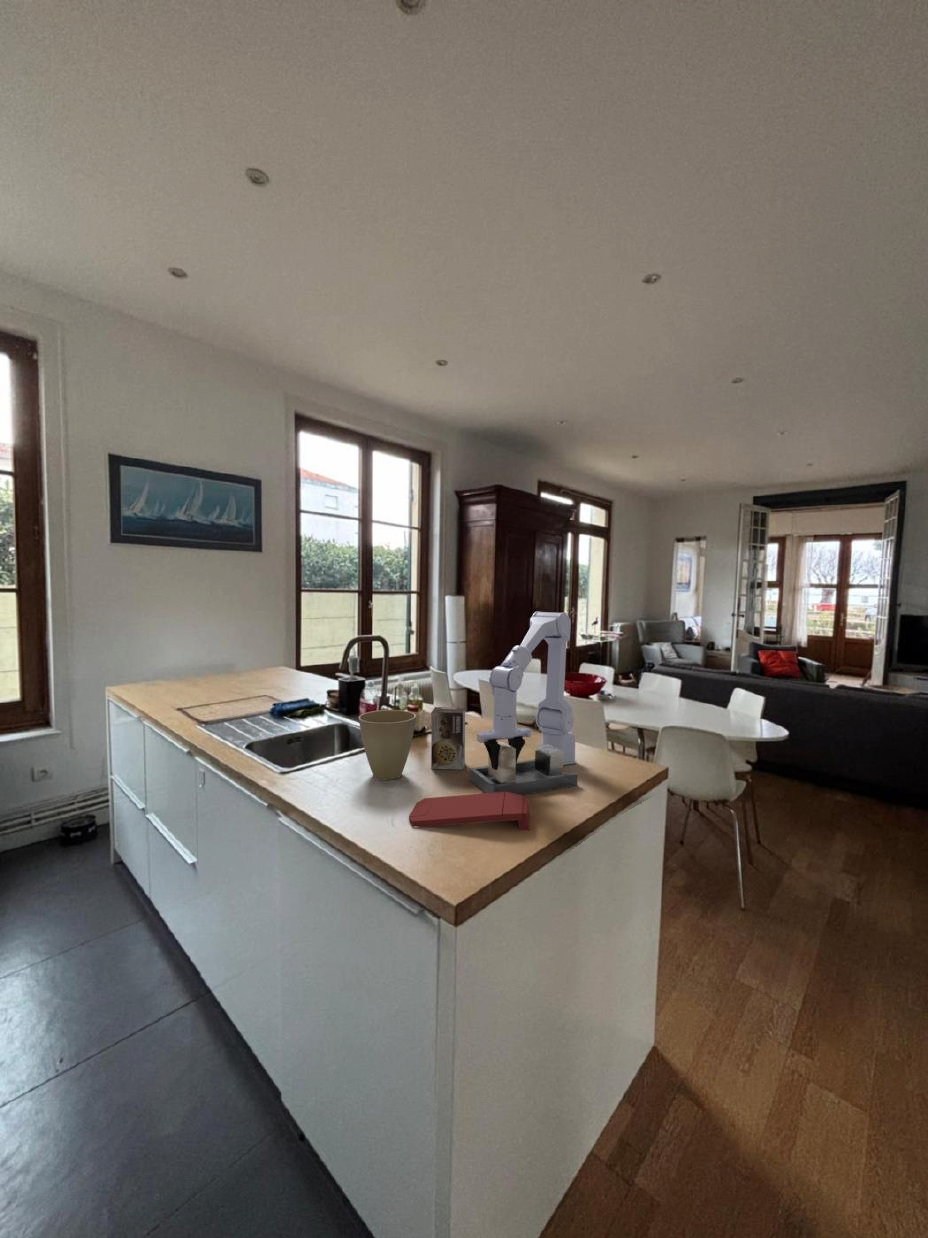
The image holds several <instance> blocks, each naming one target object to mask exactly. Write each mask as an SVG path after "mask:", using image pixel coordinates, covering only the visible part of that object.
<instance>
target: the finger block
mask: <svg viewBox="0 0 928 1238" xmlns="http://www.w3.org/2000/svg"><path fill="white" fill-rule="evenodd" d="M497 742H498V741H497ZM498 744H500V745H501V747H500V751H499V757H498V770H494V769H493V768H492V766H491V761H490V757H489V754H488V756H487V757H488V758H487V759H488V765H487V766H488V774H489V775H490V776H492V777H493V778H495V779H496V780H498V781H500V782H501V783H503V782H509V781H516V748H514V747H512V746H509V744H507V743H506V742H503V741H499V742H498Z"/></svg>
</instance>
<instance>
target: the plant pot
mask: <svg viewBox="0 0 928 1238" xmlns="http://www.w3.org/2000/svg"><path fill="white" fill-rule="evenodd" d="M416 717H417V715H416V713H414V712H412V711H408V710H399V709H386V710H385V709H384V710H383V709H382V710H381V709H380V710H374V711H373V710H372V711H368V712H364V713H362V714H360V715H359V716H358V722H359V728H360V729H359V730H360V735H361V740H362V744H363V748H364V752H365V755H366V759H367V763H368V766H369V768H370V770H371V774H372V775H373V778H375V779H377V780H382V781H388V780H389V781H390V780H396V779H398V778H400V777H402V774H403V772H404V769H405V767H406V764H407V760H408V758H409V757H408V756H409V754H410V751H411V746H412V742H413V736H414V732H415V731H414V730H415V726H416V724H415V723H416V719H417V718H416Z"/></svg>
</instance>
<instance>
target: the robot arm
mask: <svg viewBox="0 0 928 1238" xmlns="http://www.w3.org/2000/svg"><path fill="white" fill-rule="evenodd" d="M571 623H572V620H571V618H570V617H569V615H568V614H567V613H566V612H565V611H563V612H549V611H548V612H545V611H537V610H536V611H535V612H534V613H533V614H532V616H531V617H530V618H529V629H528V631H527V633H526V634H525V636H524V638H523V640H522V642H521V643H520V645H515V646H513V647H512V649H511V650H510V652H509V653H508V655H507V656H506V657H505V659H504V660H503V661H502V663H501V665H497V666H495V667H494V668H492V670H491V672H490V674H489V675H490V676H489V678H488V683H489V684H490V687H491V694H492V696H493V719H492V720H493V722H492V723H493V726H492V727H493V728H492V729H491V730H486V731H484V732H483V731H482V732H477V733H476V742H478V743H480V744H483V745H484V746H485V749H486V751H487V753H488V755H489V757H490V761H491V766H492V768H493V769H494V770H498V757H499V751H500V747H501V745H500V744H498V741H499V740H501V741H502V740H507V743H508V744H507V745H509V746H512V747H514V748H516V763H517V762H518V760H519V756H520V753H521V751H522V749H523V747H525V745H526V739H524V738H531V737H532V729H530V728H527V727H523V728H522V727H520V728H518V727H517V695H518V693H517V691H518V690H519V689H520V688H521V687H522V686H521V685H522V683H523V678H524V675H525V674H524V672H525V671H526V669H527V668H528V666H529V665H530V663H531V662H532V660H533V656H532V652H533V651H534V650H535V648H536V647H537V646H538V645H539V644H540V643H541V641H542V640H545V642H546V643H547V645H548V647H547V648H548V649H547V666H546V667H547V668H546V670H547V671H546V688H545V698H544V699H542V700H540V701H539V702H538V703H537V711H536V714H535V723H536V726H537V727H538V728H539V729H538V730H539V731H540V732H541V742H540V743H541V744H540V745H547V744H549V745H551V746H553V747H555V748H557V749H559V750H561V751H563V752H564V756H563V766H566V765H573V764H577V763H578V762H577V761H576V738H575V735H574V733H573V732H572V729H573V727H574V719H575V718H574V714H573V706H572V704H570V703H569V702H568V701H567V700H566V699H565V679H566V658H567V642H569V641H570V639H571V627H572V626H571V625H572V624H571Z"/></svg>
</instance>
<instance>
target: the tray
mask: <svg viewBox="0 0 928 1238" xmlns="http://www.w3.org/2000/svg"><path fill="white" fill-rule="evenodd" d="M534 751H535V752H534V753H535V754H534V759H527V760H520V761H517V763H516V781H509V782H503V783H501V782H500V781H498V780H496V779H495V778H493V777H492V776H490V775H489V774H488V765H483V766H478V767H477V766H476V767H469V768H468V769H469V771H468V772H469V773H468V775H469V776H468V778H469V779H468V780H469V781H470V782H471V783H473V784H474V785H475V786H477V788H479V789H480V790H481V791H483V793H494V792H510V793H514V794H519V795H523V796H525V795H529V794H530V795H531V794H537V793H542V792H549V791H552V790H558V789H559V788H560V789H565V788H570V787H576V786H578V780H579V779H578V776H579V774H578V773H576V772H570V773H564V765H563V756H564V752H563V751H561V750H559V749H557V748H555V747H553V746H551V745H549V744H547V745H541V744H540V745H539V744H538V745H535V750H534ZM560 789H559V790H560Z"/></svg>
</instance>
